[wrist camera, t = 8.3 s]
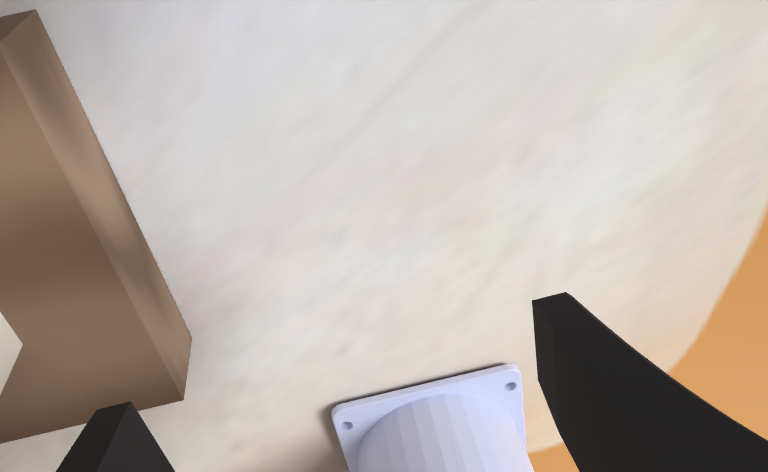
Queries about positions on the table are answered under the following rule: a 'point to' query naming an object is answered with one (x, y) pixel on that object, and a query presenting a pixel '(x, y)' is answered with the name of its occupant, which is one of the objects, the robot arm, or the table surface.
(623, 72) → the table surface
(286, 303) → the table surface
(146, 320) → the walnut plinth
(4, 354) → the cream cube
